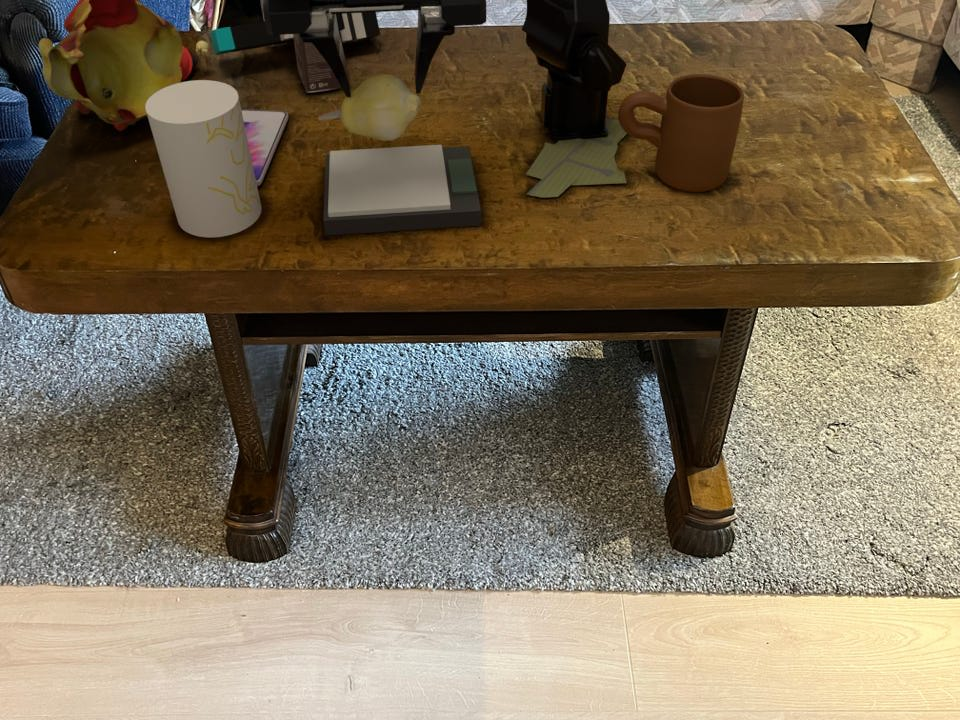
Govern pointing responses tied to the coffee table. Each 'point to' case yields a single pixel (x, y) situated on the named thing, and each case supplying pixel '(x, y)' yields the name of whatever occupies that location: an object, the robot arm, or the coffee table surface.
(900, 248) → the coffee table surface
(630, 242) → the coffee table surface
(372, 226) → the scale
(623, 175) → the map
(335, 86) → the box
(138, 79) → the toy
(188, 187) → the cup
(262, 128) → the smartphone
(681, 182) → the mug
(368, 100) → the fruit
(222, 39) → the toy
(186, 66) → the toy figurine
